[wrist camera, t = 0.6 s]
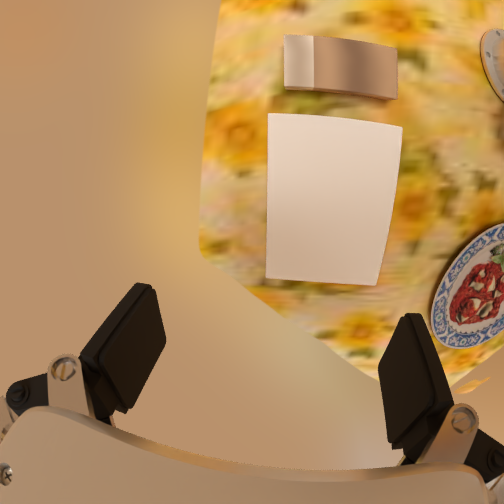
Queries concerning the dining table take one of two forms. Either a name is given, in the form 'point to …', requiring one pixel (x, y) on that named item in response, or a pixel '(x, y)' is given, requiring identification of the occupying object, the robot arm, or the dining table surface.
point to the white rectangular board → (329, 197)
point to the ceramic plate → (472, 293)
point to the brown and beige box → (340, 66)
